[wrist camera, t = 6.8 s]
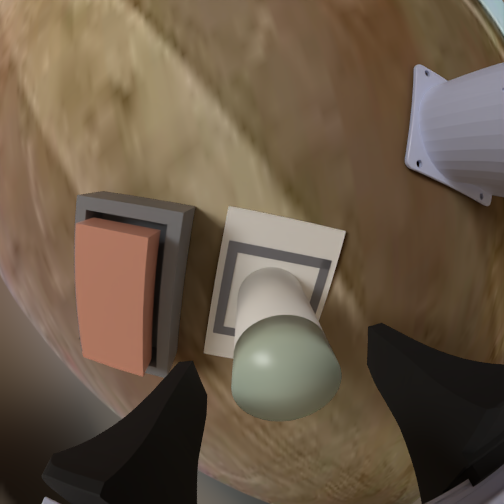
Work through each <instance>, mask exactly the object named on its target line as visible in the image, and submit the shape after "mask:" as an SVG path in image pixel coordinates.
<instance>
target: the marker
mask: <svg viewBox="0 0 504 504" xmlns="http://www.w3.org/2000/svg"><path fill="white" fill-rule="evenodd" d="M340 383H341V368H340V366H339V363H338V361H337V359H336V357H335V355H334V353H333V350H332V348H331V346H330V344H329V342H328V340H327V338H326V336H325V334H324V332H323V330H322V327H321V325H320V323H319V321H318V319H317V317H316V315H315V313H314V311H313V309H312V307H311V305H310V303H309V301H308V299H307V297H306V295H305V293H304V291H303V289H302V287H301V285H300V283H299V281H298V280H297V278H296V277H295V276H294V275H293V274H291V273H290V272H288V271H286V270H284V269H281V268H277V267H266V268H261V269H258V270H256V271H254V272H252V273H251V274H249V275H248V276H247V277H246V278H245V279H244V281H243V282H242V283H241V285H240V288H239V290H238V297H237V311H236V325H235V339H234V354H233V370H232V386H231V389H232V395H233V398H234V400H235V401H236V403H237V404H238V406H239V407H240V408H241V409H243V410H244V411H245V412H247V413H248V414H250V415H252V416H254V417H257V418H260V419H263V420H268V421H290V420H296V419H299V418H303V417H306V416H308V415H310V414H313V413H315V412H316V411H318V410H320V409H321V408H322V407H324V406H325V405H326V404H327V403H328V402H329V401H330V400H331V399H332V398H333V397H334V395H335V394H336V392H337V391H338V389H339V386H340Z"/></svg>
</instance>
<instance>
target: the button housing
mask: <svg viewBox="0 0 504 504" xmlns="http://www.w3.org/2000/svg"><path fill="white" fill-rule="evenodd" d="M194 212H195V206H190V205H185V204H179V203H173V202H168V201H162V200H156V199H150V198H144V197H137V196H131V195H125V194H118V193H111V192H105V191H101V192H94V193H88V194H81V195H77V203H76V216H75V229H76V223H78V222H81V221H84V220H87V219H90V218H93V217H95V218H100V219H105V220H110V221H116V222H121V223H126V224H131V225H137V226H142V227H147V228H152V229H158V230H161V231H160V239H159V248H158V257H157V267H156V278H155V291H154V306H153V327H152V359H151V361H150V363H149V365H148V367H147V369H146V372H145V373H148V374H152V375H156V376H160V377H164V378H165V377H166V376H167V375H168V374H169V372H170V369H171V366H172V364H173V361H174V358H175V356H176V353H177V345H178V333H179V323H180V313H181V304H182V295H183V287H184V279H185V271H186V264H187V257H188V250H189V243H190V236H191V230H192V224H193V218H194ZM74 273H75V238H74ZM75 295H76V283H75ZM76 308H77V300H76ZM77 318H78V312H77ZM78 327H79V322H78ZM79 335H80V331H79ZM80 343H81V338H80ZM81 349H82V345H81Z"/></svg>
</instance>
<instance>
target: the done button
mask: <svg viewBox="0 0 504 504" xmlns="http://www.w3.org/2000/svg"><path fill="white" fill-rule="evenodd" d="M160 231H161V230H158V229H152V228H147V227H142V226H137V225H131V224H126V223H121V222H116V221H110V220H105V219H100V218H95V217H93V218H90V219H87V220H84V221H81V222H78V223H76V229H75V283H76V300H77V312H78V322H79V331H80V338H81V345H82V352H83V357H86V358H88V359H91V360H94V361H96V362H99V363H102V364H105V365H108V366H111V367H114V368H117V369H120V370H123V371H126V372H129V373H133V374H136V375H140V376H144V374H145V372H146V369H147V367H148V365H149V363H150V361H151V359H152V327H153V306H154V291H155V278H156V267H157V257H158V248H159V239H160Z"/></svg>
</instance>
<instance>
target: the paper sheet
mask: <svg viewBox="0 0 504 504" xmlns="http://www.w3.org/2000/svg"><path fill="white" fill-rule="evenodd" d="M345 233H346V231H344V230H340V229H335V228H331V227H327V226H323V225H318V224H314V223H310V222H305V221H301V220H296V219H292V218H287V217H283V216H278V215H273V214H268V213H264V212H259V211H254V210H249V209H244V208H239V207H234V206H229V207H228V212H227V217H226V223H225V228H224V233H223V239H222V244H221V250H220V255H219V261H218V266H217V272H216V278H215V284H214V290H213V295H212V302H211V308H210V314H209V320H208V326H207V333H206V339H205V346H204V353H205V354H210V355H215V356H220V357H226V358H232V359H233V354H234V339H235V325H236V311H237V297H238V290H239V288H240V285H241V283H242V282H243V281H244V279H245V278H246V277H247V276H248V275H249V274H251V273H252V272H254V271H256V270H258V269H261V268H266V267H277V268H281V269H284V270H286V271H288V272H290V273H291V274H293V275H294V276H295V277H296V278H297V280H298V281H299V283H300V285H301V287H302V289H303V291H304V293H305V295H306V297H307V299H308V301H309V303H310V305H311V307H312V309H313V311H314V313H315V315H316V317H317V319H318V321H319V319H320V316H321V313H322V310H323V307H324V304H325V301H326V298H327V295H328V292H329V288H330V285H331V282H332V279H333V275H334V272H335V269H336V265H337V262H338V258H339V255H340V251H341V248H342V244H343V240H344V237H345Z"/></svg>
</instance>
